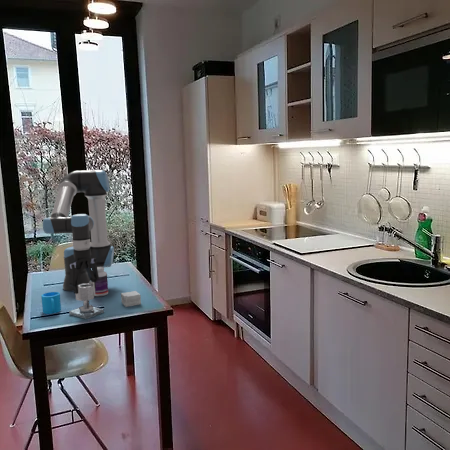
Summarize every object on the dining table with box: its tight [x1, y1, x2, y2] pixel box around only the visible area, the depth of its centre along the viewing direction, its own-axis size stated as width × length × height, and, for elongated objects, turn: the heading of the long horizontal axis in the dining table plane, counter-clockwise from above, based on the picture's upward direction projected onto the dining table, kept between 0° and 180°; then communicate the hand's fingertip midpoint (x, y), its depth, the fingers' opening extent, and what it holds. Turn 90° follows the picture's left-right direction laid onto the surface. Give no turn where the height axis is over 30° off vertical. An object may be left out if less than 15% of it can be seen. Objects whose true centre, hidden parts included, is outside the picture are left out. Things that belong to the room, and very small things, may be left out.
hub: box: [78, 283, 95, 302], centre depth 207 cm, size 7×7×6 cm
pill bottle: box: [94, 267, 109, 297], centre depth 237 cm, size 8×8×14 cm
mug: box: [40, 291, 62, 315], centre depth 212 cm, size 12×8×8 cm
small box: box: [120, 290, 142, 308], centre depth 222 cm, size 8×8×5 cm
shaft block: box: [68, 300, 105, 320], centre depth 208 cm, size 12×10×9 cm
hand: (85, 297), depth 208 cm, fingers closed on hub, 7 cm apart
